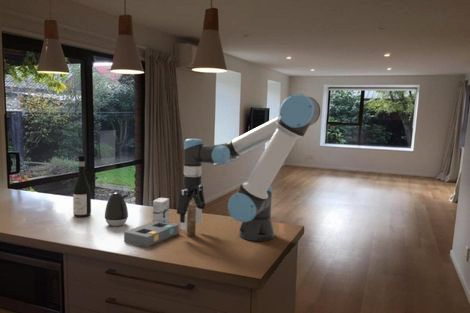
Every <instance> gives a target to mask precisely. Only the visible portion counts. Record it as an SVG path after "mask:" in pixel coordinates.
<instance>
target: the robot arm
mask: <svg viewBox="0 0 470 313" xmlns="http://www.w3.org/2000/svg"><path fill="white" fill-rule="evenodd" d="M321 110H322V109H321V105H320V104H319V101H317V100H316V99H315V98H313V97H311V96H309V95H306V94H302V93H301V94H300V93H298V94H297V93H296V94H295V93H294V94H292V95H290V96H288V97H286V98H285V99H284V100H283V102H282V103H281V105H280V108H279V115H278V116H276V117H274V118H272V119H270V120H267V121H266V122H264V123H262V124H261V125H258V126H257V127H255V128H252V129H251V130H249V131H247V132H245V133H243V134H241V135H239V136H237V137H235V138H233V139H232V140H229V141H228V142H226V143H220V144H203V140H202V139H200V138H187V139H185V140H184V144H183V175H184V176H182V177H183V181H182V182H183V183H182V184H183V185H184V186H185V187H184V189H180V194H179V195H180V196H179V200H178V205H177V210H176V214H177V215H179V216H180V218H179V222H180V225H179V226H180V228H179V229H180V230H182V231H187V209H188V206H189V203H190V202H191V201H192V200H193V199H194V203H196V224H200V225H201V224H202V223H203V222H202V221H203V220H202V219H203V216H202V215H203V210H204V209H205V208H206V199H205V195H204V194H205V193H204V186H203V185H202V176H201V175H202V165H203V164H204V163H206V164H216V165H226V164H227V163H228V162H229V161H233V160H236V159H237V157H240V156H241V155H244V154H245V153H247V152H250V151H251V150H253V149H256V148H258V147H260V146H262V145H264V144H266V143H267V145H266V147H265V149H264V151H263V152H262V154H261V155H260V157H259V159H258V161H257V162H256V165H255V167H254V169H252V172H251V173H250V175H249V177H248V179H247V180H245V181H244V180H243V181H242V182H241V184H240V185H239V186H238V189H237V191H236V192H235V193H233V194H232V195H231V197H230V198H229V199H228V202H227V210H228V213H229V215H230V216H231V217H232V219H234V220H235V221H237V222H240V223H241V224H240V227H239V232H238V236H239V237H240V238H242V239H243V240H247V241H251V242H252V241H253V242H266V241H271V240H273V239H274V237H275V230H274V226H273V224H272V219H271V217H272V215H271V214H272V200H273V199H272V197H273V188H272V186H271V184H273V182H274V180H275V178H276V177H277V175H278V173H279V171H280V170H281V167H282V165H283V164H284V162H285V161H286V159H287V157H288V156H289V153H290V152H291V151H292V149H293V147H294V145H295V143H296V141H297V140H298V139H301V138H303V137H304V136H305V134H306V133H307V131H308V129H309V128H310V127H311V126H313V125H314V124H316V123H317V122H318V121H319V118H320V117H321V112H322V111H321Z"/></svg>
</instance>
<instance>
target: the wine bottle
mask: <svg viewBox="0 0 470 313" xmlns="http://www.w3.org/2000/svg"><path fill="white" fill-rule="evenodd" d="M77 158H78V159H77V160H78V176H77V179H76V182H75V184H74V187H73V192H72V204H73V205H72V208H73V209H72V210H73V211H72V212H73V216H74V217H75V218H86V217H89V216H90V215H91V214H92V191H91V187H90V184H89V183H88V180H87V178H86V170H85V167H86V166H85V159H86V156H85V155H81V154H80V155H78V156H77Z"/></svg>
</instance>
